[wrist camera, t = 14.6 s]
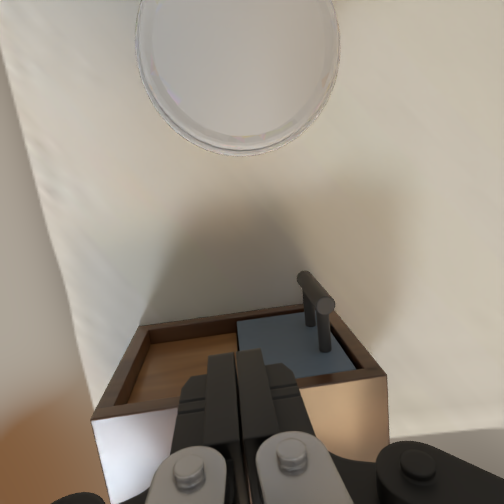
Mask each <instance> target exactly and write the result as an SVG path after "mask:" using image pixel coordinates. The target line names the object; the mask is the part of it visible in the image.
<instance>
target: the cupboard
mask: <svg viewBox="0 0 504 504" xmlns="http://www.w3.org/2000/svg"><path fill="white" fill-rule="evenodd" d="M315 310H316V309H315ZM300 312H304V304H298V305H290V306H283V307H276V308H269V309H262V310H254V311H247V312H240V313H233V314H226V315H218V316H211V317H204V318H197V319H190V320H182V321H175V322H168V323H161V324H154V325H146V326H139V327H138V329H137V331H136V333H135V335H134V336H133V338H132V340H131V342H130V344H129V346H128V348H127V350H126V352H125V354H124V356H123V358H122V359H121V361H120V363H119V365H118V367H117V369H116V371H115V373H114V375H113V377H112V379H111V380H110V382H109V384H108V386H107V388H106V390H105V392H104V394H103V396H102V398H101V400H100V402H99V403H98V405H97V407H96V409H95V411H94V413H93V416H92V418H91V420H90V421H91V425H92V429H93V433H94V437H95V442H96V446H97V450H98V454H99V458H100V463H101V467H102V471H103V475H104V479H105V484H106V487H107V492H108V496H109V500H110V504H119V503H121V502H123V501H126V500H128V499H130V498H132V497H134V496H136V495H138V494H140V493H142V492H143V491H145V490H146V489H148V488H149V487H150V485H151V482H152V478H153V476H154V473H155V471H156V469H157V468H158V466H159V465H160V464H161V463H162V462H163V461H164V460H165V459H166V458H167V457H169V456H170V451H171V446H172V440H173V434H174V428H175V423H176V417H177V411H178V405H179V400H180V394H181V388H182V387H183V386H184V385H185V383H186V382H187V381H188V379H189V378H190V377H191V376H196V375H203V374H207V364H208V356H209V355H215V354H222V353H229V352H234V357H235V364H236V371H237V361H236V351H240V350H239V340H238V331H237V321H243V320H250V319H258V318H265V317H272V316H279V315H286V314H293V313H300ZM329 320H330V331H331V333H332V334H333V336H334V337H335V339H336V340H337V342H338V343H339V345H340V346H341V348H342V349H343V350H344V352H345V353H346V355H347V356H348V358H349V359H350V361H351V362H352V364H353V365H354V367H355V368H356V370H350V371H344V372H337V373H330V374H324V375H317V376H310V377H304V378H297V379H296V382H297V386H298V387H299V390H300V393H301V396H302V399H303V401H304V404H305V407H306V410H307V413H308V416H309V418H310V421H311V424H312V427H313V430H314V433H315V435H316V437H317V438H318V439H319V440H321V441H322V443H323V444H324V445H325V446H326V448H327V450H328V451H329V452H331V453H333V454H335V455H337V456H339V457H342V458H346V459H350V460H356V461H366V462H375V463H376V458H377V456H378V454H379V452H380V451H381V450H382V449H383V448H384V447H386V446H388V445H389V444H390V442H389V441H390V440H389V414H388V388H387V374H386V373H385V372H384V371H383V369H382V368H381V367H380V366H379V364H378V363H377V362H376V361H375V360H374V358H373V357H372V356H371V355H370V353H369V352H368V351H367V350H366V348H365V347H364V346H363V345H362V344H361V342H360V341H359V340H358V339H357V337H356V336H355V335H354V334H353V333H352V331H351V330H350V329H349V328H348V326H347V325H346V324H345V323H344V321H343V320H342V319H341V318H340V317H339V315H338V314H337V313H336V312H335V310H333V312H331V313H330V314H329ZM237 378H238V373H237ZM248 480H249V477H248ZM249 491H250V484H249ZM250 502H251V504H252V498H251V491H250Z"/></svg>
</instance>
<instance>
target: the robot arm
mask: <svg viewBox="0 0 504 504" xmlns="http://www.w3.org/2000/svg"><path fill="white" fill-rule="evenodd" d="M236 361H237V371H236V364H235V357H234V352H229V353H222V354H215V355H209V356H208V364H207V374H203V375H196V376H191V377H190V378H189V379H188V381H187V382H186V383H185V385H184V386H183V387H182V388H181V394H180V400H179V405H178V411H177V417H176V423H175V428H174V434H173V440H172V446H171V451H170V456H169V457H167V458H166V459H165V460H164V461H163V462H162V463H161V464H160V465H159V466H158V468H157V469H156V471H155V473H154V476H153V478H152V482H151V485H150V487H149V488H148V489H146V490H145V491H143V492H142V493H140V494H138V495H136V496H134V497H132V498H130V499H128V500H126V501H123V502H121V503H119V504H251V502H250V491H251V498H252V504H504V479H503V478H500V477H498V476H496V475H494V474H492V473H490V472H487V471H485V470H483V469H480V468H479V467H477V466H474V465H472V464H470V463H467V462H466V461H463V460H461V459H459V458H457V457H455V456H453V455H450V454H448V453H446V452H444V451H442V450H440V449H437V448H435V447H433V446H430V445H428V444H424V443H420V442H414V441H400V442H395V443H392V444H389V445H388V446H386V447H384V448H383V449H382V450H381V451H380V452H379V454H378V456H377V458H376V463H375V462H366V461H356V460H350V459H346V458H342V457H339V456H337V455H335V454H333V453H331V452H329V451H328V450H327V448H326V446H325V445H324V444H323V443H322V441H321V440H319V439H318V438H317V437H316V435H315V433H314V430H313V427H312V424H311V421H310V418H309V416H308V413H307V410H306V407H305V404H304V401H303V399H302V396H301V393H300V390H299V387H298V386H297V382H296V379H295V376H294V373H293V371H292V370H290V369H289V368H288V367H287V366H286V365H284V364H283V363H276V364H269V365H265V364H264V360H263V355H262V351H261V348H256V349H249V350H242V351H236ZM237 373H238V378H237ZM248 477H249V480H248ZM249 484H250V491H249ZM52 504H105V502H104V501H103V499H102V498H101V497H100V496H98V495H96V494H94V493H89V492H81V493H75V494H71V495H68V496H65V497H62V498H61V499H58V500H57V501H54V502H53V503H52Z"/></svg>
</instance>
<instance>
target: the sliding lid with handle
mask: <svg viewBox="0 0 504 504" xmlns="http://www.w3.org/2000/svg"><path fill="white" fill-rule="evenodd" d="M297 282H298V284H299V285H300V287H301V288H302V292H303V304H304V312H300V313H293V314H286V315H279V316H272V317H265V318H258V319H250V320H243V321H237V331H238V340H239V350H240V351H242V350H249V349H256V348H261V351H262V355H263V360H264V364H265V365H269V364H276V363H283V364H284V365H286V366H287V367H288V368H289V369H290V370H292V371H293V373H294V376H295V379H297V378H304V377H310V376H317V375H324V374H330V373H337V372H344V371H350V370H356V368H355V367H354V365H353V364H352V362H351V361H350V359H349V358H348V356H347V355H346V353H345V352H344V350H343V349H342V348H341V346H340V345H339V343H338V342H337V340H336V339H335V337H334V336H333V334H332V333H331V331H330V320H329V314H330V313H331V312H333V310H334V308H335V301H334V299H333V298H332V297H331V296H330V295H329V294H328V293H327V291H326V290H325V289H324V288H323V287H322V286H321V285H320V283H319V282H318V281H317V280H316V279H315V278H314V277H313V275H312V274H311V273H310V272H308V271H301V272H300V273H299V274H298V275H297ZM315 309H316V310H315Z"/></svg>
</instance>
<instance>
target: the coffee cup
mask: <svg viewBox="0 0 504 504" xmlns="http://www.w3.org/2000/svg"><path fill="white" fill-rule="evenodd" d="M135 51H136V59H137V65H138V69H139V73H140V77H141V80H142V82H143V85H144V88H145V90H146V92H147V94H148V96H149V99H150V100H151V102H152V104H153V105H154V107H155V109H156V110H157V111H158V113H159V114H160V115H161V117H162V118H163V119H164V120H165V121H166V122H167V124H168V125H169V126H170V127H171V128H172V129H174V130H175V131H176V132H177V133H178V134H179V135H181V136H182V137H183V138H185V139H186V140H188V141H189V142H191V143H193V144H195V145H196V146H198V147H201V148H203V149H205V150H208V151H211V152H214V153H217V154H223V155H228V156H253V155H260V154H263V153H267V152H271V151H273V150H276V149H278V148H280V147H282V146H284V145H286V144H288V143H290V142H291V141H293V140H294V139H296V138H297V137H298V136H300V135H301V134H302V133H303V132H304V131H305V130H306V129H307V128H308V127H309V126H310V125H311V124H312V123H313V122H314V121H315V119H316V118H317V117H318V116H319V114H320V113H321V111H322V110H323V108H324V106H325V105H326V103H327V101H328V99H329V97H330V95H331V92H332V90H333V87H334V84H335V81H336V77H337V73H338V67H339V61H340V33H339V25H338V20H337V16H336V12H335V9H334V6H333V3H332V1H331V0H141V3H140V7H139V11H138V15H137V21H136V29H135Z"/></svg>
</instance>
